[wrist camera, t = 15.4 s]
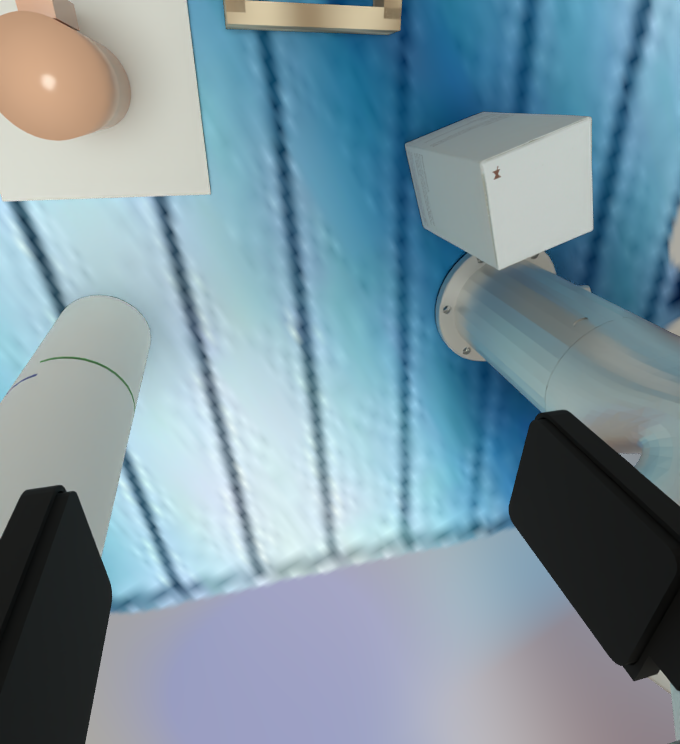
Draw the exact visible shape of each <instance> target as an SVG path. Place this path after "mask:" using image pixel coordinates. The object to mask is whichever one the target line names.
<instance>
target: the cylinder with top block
mask: <svg viewBox="0 0 680 744" xmlns="http://www.w3.org/2000/svg"><path fill="white" fill-rule="evenodd" d="M15 2H16V6H17V9H18V11H14V12H9V13H6V14H3V15H1V16H0V113H1V114H2V115H3V116H4V117H5V118H6V119H8V120H9V121H10V122H11V123H12V124H14V125H15V126H17V127H18V128H19V129H21V130H23V131H25V132H26V133H28V134H31V135H33V136H35V137H39V138H42V139H47V140H55V141H61V140H69V139H73V138H77V137H80V136H84V135H87V134H90V133H94V132H97V131H101V130H104V129H108V128H110V127H113V126H115V125H116V124H118V123H119V122H120V121H121V120H122V119H123V118H124V117H125V115H126V113H127V111H128V109H129V106H130V101H131V88H130V83H129V79H128V76H127V73H126V71H125V69H124V67H123V66H122V64H121V63H120V61H119V60H118V59H117V57H116V56H115V55H114V54H113V53H112V52H111V51H110V50H109V49H107V48H106V47H105V46H103V45H102V44H100V43H98V42H97V41H95V40H93V39H91V38H89V37H87V36H85V35H83V34H81V33H79V32H77V31H80V30H79V25H78V20H77V16H76V11H75V7H74V4H73V3H71V2H70V1H68V0H15Z"/></svg>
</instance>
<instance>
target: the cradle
mask: <svg viewBox="0 0 680 744" xmlns="http://www.w3.org/2000/svg"><path fill="white" fill-rule="evenodd" d="M223 4H224V15H225V26H226V29H245V30H272V31H299V32H325V33H352V34H379V35H389V34H392V33H395V32H397V31H400V24H401V7H402V0H373V7H367V6H347V5H327V4H307V3H287V2H267V1H247V0H223Z"/></svg>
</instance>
